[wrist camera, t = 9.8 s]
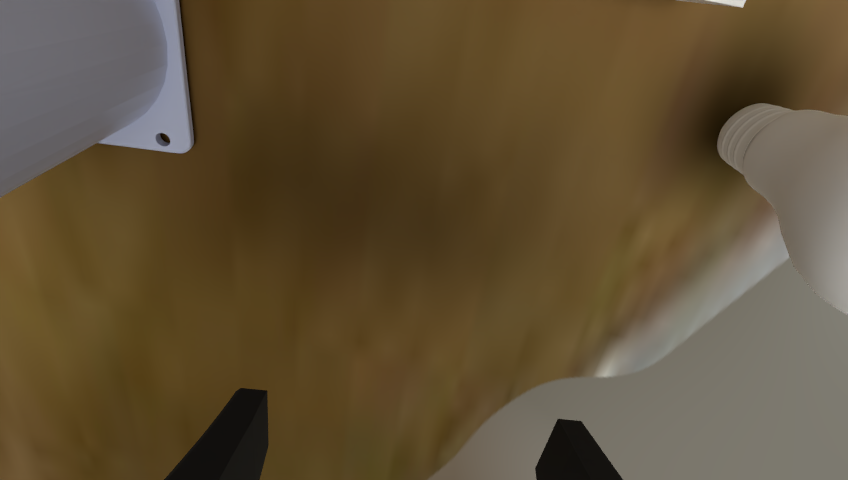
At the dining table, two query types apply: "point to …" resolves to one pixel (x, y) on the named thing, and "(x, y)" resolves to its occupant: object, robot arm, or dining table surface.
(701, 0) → the power strip
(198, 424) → the dining table surface
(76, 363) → the dining table surface
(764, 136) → the lightbulb
